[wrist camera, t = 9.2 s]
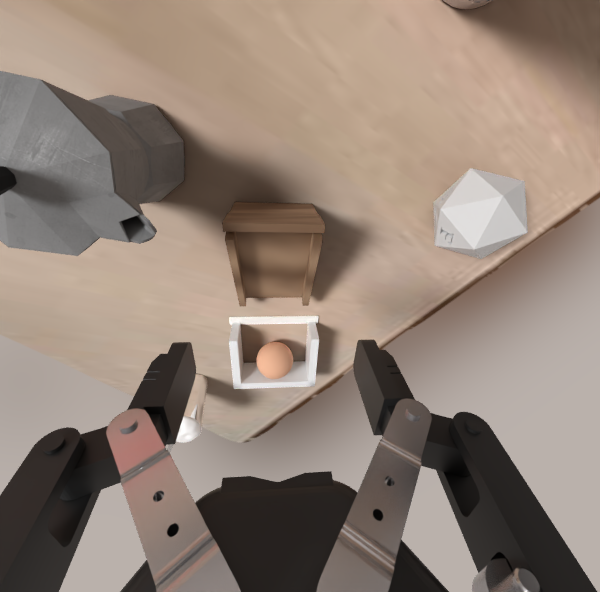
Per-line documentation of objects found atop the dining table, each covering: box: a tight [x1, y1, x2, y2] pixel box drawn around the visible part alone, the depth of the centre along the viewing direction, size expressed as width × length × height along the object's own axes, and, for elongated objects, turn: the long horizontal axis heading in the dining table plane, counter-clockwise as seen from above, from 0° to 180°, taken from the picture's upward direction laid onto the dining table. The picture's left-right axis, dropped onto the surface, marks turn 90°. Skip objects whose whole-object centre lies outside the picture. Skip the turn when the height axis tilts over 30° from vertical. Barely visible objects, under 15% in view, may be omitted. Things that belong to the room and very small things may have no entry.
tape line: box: [229, 316, 318, 325], centre depth 39 cm, size 1×12×1 cm, turn 87°
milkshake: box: [167, 374, 208, 453], centre depth 39 cm, size 4×5×10 cm
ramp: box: [222, 202, 325, 306], centre depth 30 cm, size 12×8×9 cm
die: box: [433, 168, 528, 259], centre depth 30 cm, size 8×9×10 cm
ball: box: [257, 342, 293, 379], centre depth 39 cm, size 5×5×5 cm
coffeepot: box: [0, 71, 185, 256], centre depth 20 cm, size 15×9×18 cm, turn 57°
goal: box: [229, 322, 319, 389], centre depth 40 cm, size 8×11×4 cm
